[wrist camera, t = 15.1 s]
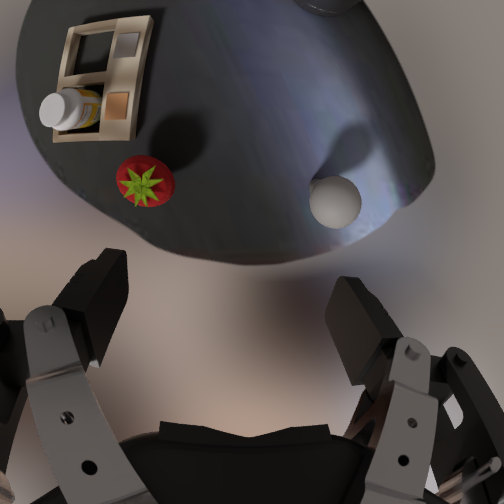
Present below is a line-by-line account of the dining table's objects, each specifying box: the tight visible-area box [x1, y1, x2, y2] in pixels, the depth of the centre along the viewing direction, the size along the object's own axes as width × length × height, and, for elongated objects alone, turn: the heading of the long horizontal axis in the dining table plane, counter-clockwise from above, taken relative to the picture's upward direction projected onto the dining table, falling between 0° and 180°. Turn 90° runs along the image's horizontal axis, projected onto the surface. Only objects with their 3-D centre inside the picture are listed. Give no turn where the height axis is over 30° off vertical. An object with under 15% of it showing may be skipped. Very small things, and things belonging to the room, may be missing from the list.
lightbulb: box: [309, 176, 362, 229], centre depth 33 cm, size 6×6×11 cm
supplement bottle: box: [39, 88, 103, 131], centre depth 25 cm, size 5×5×10 cm
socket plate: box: [53, 15, 154, 143], centre depth 26 cm, size 18×12×3 cm
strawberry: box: [116, 155, 175, 207], centre depth 30 cm, size 6×8×10 cm
